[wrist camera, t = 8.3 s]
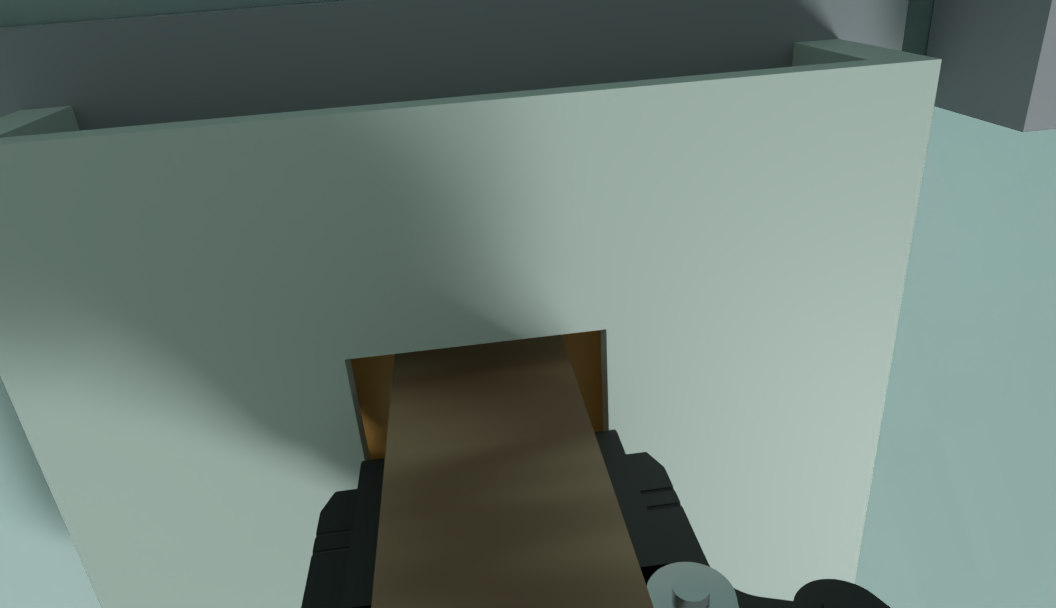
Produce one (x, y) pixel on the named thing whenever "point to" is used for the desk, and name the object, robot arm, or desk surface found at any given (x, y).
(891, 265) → the grey box with hole
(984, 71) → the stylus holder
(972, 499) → the desk surface
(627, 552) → the brown block
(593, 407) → the breaker button
